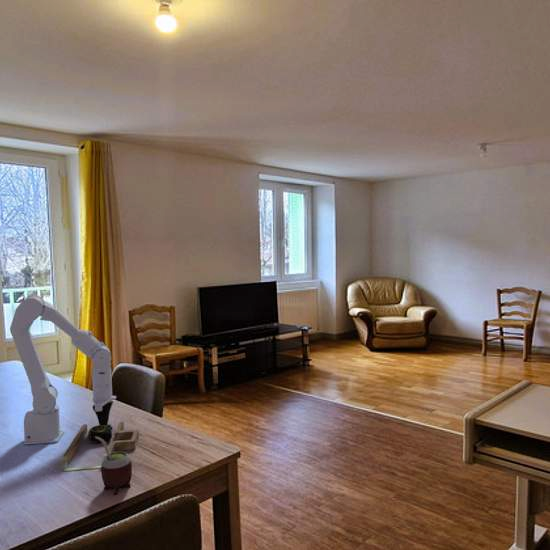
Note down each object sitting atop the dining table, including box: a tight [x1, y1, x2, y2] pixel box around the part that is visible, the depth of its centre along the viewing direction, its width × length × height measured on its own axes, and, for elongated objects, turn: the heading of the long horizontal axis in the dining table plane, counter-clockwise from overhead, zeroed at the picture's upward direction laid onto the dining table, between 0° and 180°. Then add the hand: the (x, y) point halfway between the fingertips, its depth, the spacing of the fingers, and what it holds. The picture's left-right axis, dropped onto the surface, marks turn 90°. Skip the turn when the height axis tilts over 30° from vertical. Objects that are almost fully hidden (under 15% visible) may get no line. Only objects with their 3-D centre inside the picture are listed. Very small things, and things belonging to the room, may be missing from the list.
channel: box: [59, 421, 140, 472], centre depth 136 cm, size 18×26×3 cm
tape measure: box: [87, 424, 113, 443], centre depth 142 cm, size 7×7×4 cm
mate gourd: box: [95, 437, 133, 496], centre depth 113 cm, size 8×8×15 cm
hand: (103, 425), depth 149 cm, fingers closed
